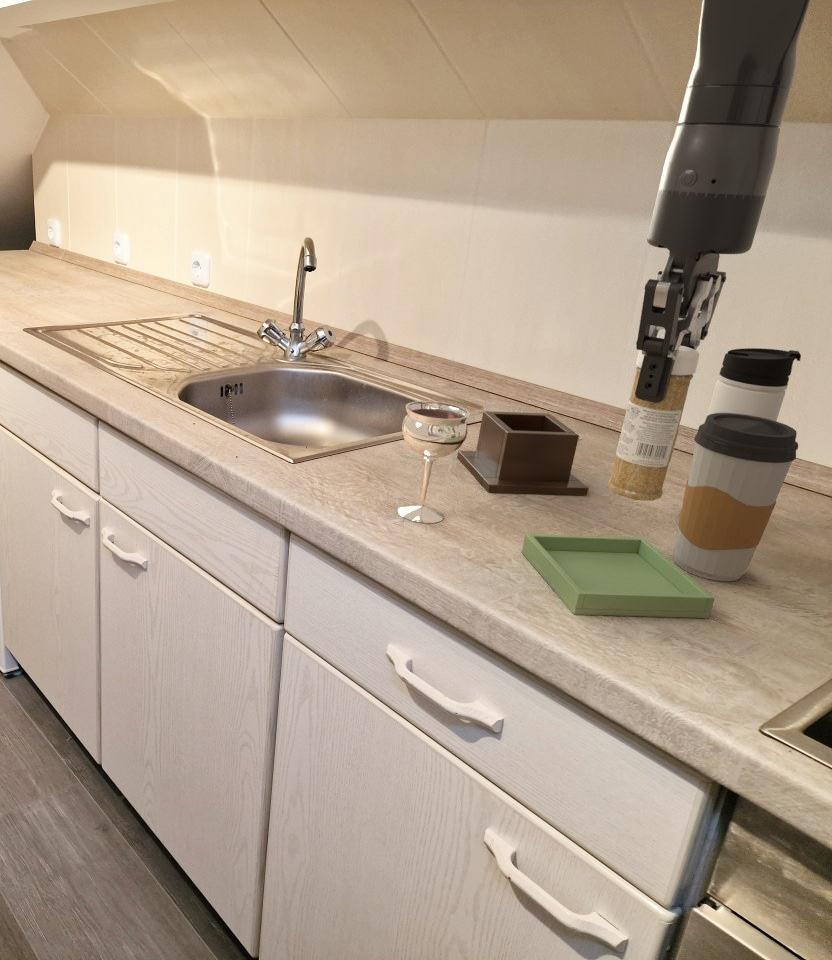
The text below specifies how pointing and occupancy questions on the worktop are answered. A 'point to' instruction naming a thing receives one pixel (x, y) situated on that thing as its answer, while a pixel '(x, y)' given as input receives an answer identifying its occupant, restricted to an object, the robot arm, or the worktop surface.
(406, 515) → the wineglass
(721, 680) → the worktop surface
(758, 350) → the travel mug
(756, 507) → the coffee cup
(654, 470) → the sprinkles bottle
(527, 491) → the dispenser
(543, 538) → the tray
